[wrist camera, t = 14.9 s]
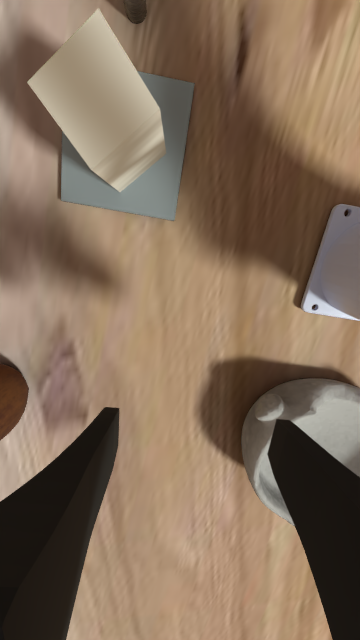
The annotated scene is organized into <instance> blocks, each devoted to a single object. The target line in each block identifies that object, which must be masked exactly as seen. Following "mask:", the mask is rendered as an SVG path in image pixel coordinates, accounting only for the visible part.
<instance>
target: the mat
mask: <svg viewBox="0 0 360 640" xmlns="http://www.w3.org/2000/svg"><path fill="white" fill-rule="evenodd" d="M137 72H138V74H139V75H140V77H141V79H142V80H143V82H144V83H145V85H146V87H147V88H148V90H149V92H150V93H151V95H152V97H153V98H154V100H155V101H156V103H157V105H158V106H159V108H160V112H161V119H162V126H163V133H164V140H165V147H166V154H165V155H164V156H163V157H162V158H160V159H159V160H158V161H157V162H156V163H154V164H153V165H152V166H151V167H150V168H149V169H147V170H146V171H145V172H144V173H143V174H141V175H140V176H139V177H138V178H137V179H136V180H134V181H133V182H132V183H131V184H130V185H128V186H127V187H126V188H125V189H124V190H122V191H121V192H119V191H117V190H116V189H115V188H114V187H112V186H111V185H110V184H109V183H107V182H106V181H105V180H103V179H102V178H101V177H100V176H98V175H97V174H96V173H94V172H93V171H92V170H91V169H90V168H89V166H88V165H87V164H86V162H85V161H84V159H83V158H82V157H81V155H80V154H79V153H78V151H77V150H76V148H75V147H74V146H73V144H72V143H71V142H70V140H69V139H68V138H67V136H66V135H65V133H64V132H63V131H62V172H61V201H65V202H71V203H76V204H82V205H88V206H93V207H99V208H104V209H110V210H116V211H121V212H127V213H132V214H138V215H144V216H149V217H155V218H160V219H166V220H172V221H174V220H175V213H176V207H177V200H178V193H179V186H180V180H181V173H182V166H183V159H184V153H185V146H186V139H187V132H188V125H189V119H190V112H191V105H192V98H193V92H194V84H195V83H191V82H187V81H182V80H177V79H172V78H168V77H163V76H158V75H153V74H149V73H144V72H139V71H137Z"/></svg>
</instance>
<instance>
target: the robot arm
mask: <svg viewBox="0 0 360 640" xmlns="http://www.w3.org/2000/svg"><path fill="white" fill-rule="evenodd" d="M345 210H347V211H348V215H347V216H345V215H344V212H345ZM314 304H316V307H315V308H314V309H312V306H313V305H314ZM301 309H302V310H303V311H305V312H308V313H314V314H320V315H327V316H333V317H339V318H345V319H351V320H357V321H360V207H357V206H351V205H346V204H339V205H336V206H335V207H334V208H333V209H332V211H331V214H330V217H329V220H328V223H327V226H326V229H325V232H324V235H323V238H322V241H321V245H320V248H319V251H318V254H317V257H316V260H315V263H314V266H313V269H312V272H311V275H310V278H309V281H308V284H307V287H306V290H305V293H304V296H303V299H302V303H301ZM118 434H119V408H110V407H105V408H104V409H103V410H102V411H101V412H100V413H99V415H98V416H97V417H96V418H95V419H94V420H93V422H92V423H91V424H90V425H89V426H88V427H87V428H86V429H85V430H84V431H83V432H82V433H81V434H80V436H79V437H78V438H77V439H76V440H75V441H74V442H73V443H72V444H71V445H70V446H69V447H67V448H66V449H65V450H64V451H63V452H62V453H61V454H60V455H59V456H58V457H57V458H56V459H55V460H54V461H52V462H51V463H50V464H49V465H48V466H47V467H45V468H44V469H43V470H42V471H41V472H39V473H38V474H37V475H36V476H34V477H33V478H32V479H31V480H29V481H28V482H27V483H25V484H24V485H23V486H21V487H20V488H19V489H17V490H16V491H15V492H13V493H12V494H11V495H9V496H8V497H6V498H5V499H4V500H2V501H1V502H0V640H66V637H67V633H68V629H69V624H70V620H71V616H72V611H73V607H74V603H75V599H76V594H77V590H78V586H79V582H80V578H81V573H82V569H83V565H84V561H85V557H86V553H87V549H88V545H89V541H90V538H91V534H92V531H93V528H94V524H95V521H96V518H97V515H98V512H99V509H100V506H101V503H102V500H103V497H104V494H105V491H106V488H107V485H108V482H109V479H110V476H111V473H112V470H113V466H114V462H115V457H116V453H117V448H118ZM267 455H268V458H269V462H270V465H271V469H272V472H273V475H274V478H275V481H276V483H277V485H278V488H279V490H280V493H281V495H282V497H283V500H284V502H285V504H286V507H287V509H288V511H289V514H290V516H291V518H292V521H293V523H294V525H295V528H296V530H297V532H298V535H299V537H300V540H301V542H302V545H303V547H304V550H305V553H306V556H307V559H308V562H309V565H310V568H311V571H312V574H313V577H314V580H315V583H316V586H317V589H318V592H319V596H320V599H321V602H322V605H323V608H324V612H325V615H326V618H327V621H328V625H329V628H330V632H331V635H332V639H333V640H360V477H359V476H357V475H356V474H355V473H354V472H352V471H351V470H350V469H348V468H347V467H346V466H344V465H343V464H342V463H341V462H339V461H338V460H337V459H336V458H335V457H333V456H332V455H331V454H330V453H328V452H327V451H326V450H325V449H324V448H322V447H321V446H320V445H319V444H318V443H317V442H315V441H314V440H313V439H312V438H311V437H310V436H308V435H307V434H306V433H305V432H304V431H303V430H301V429H300V428H299V427H298V426H297V425H295V424H294V423H293V422H292V421H290V420H284V419H276V423H275V427H274V430H273V434H272V438H271V442H270V446H269V450H268V453H267Z"/></svg>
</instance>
